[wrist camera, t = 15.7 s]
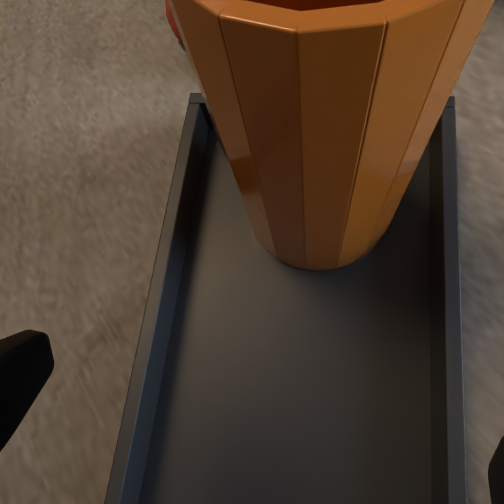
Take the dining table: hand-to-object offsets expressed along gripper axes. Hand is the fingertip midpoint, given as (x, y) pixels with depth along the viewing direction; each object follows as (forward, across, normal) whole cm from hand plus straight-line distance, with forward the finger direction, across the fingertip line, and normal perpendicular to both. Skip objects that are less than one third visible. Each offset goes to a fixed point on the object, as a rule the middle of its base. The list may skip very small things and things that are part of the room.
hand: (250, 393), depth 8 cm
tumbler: (+13, 0, 0) cm, 13 cm away
